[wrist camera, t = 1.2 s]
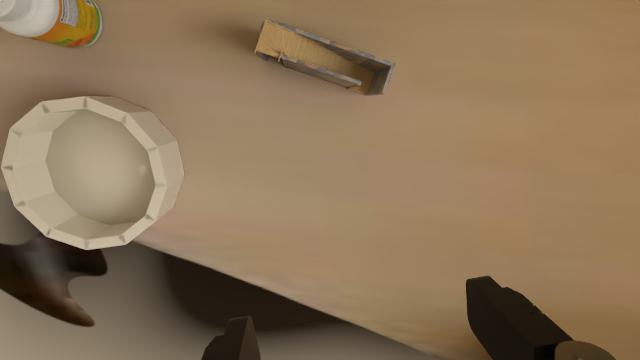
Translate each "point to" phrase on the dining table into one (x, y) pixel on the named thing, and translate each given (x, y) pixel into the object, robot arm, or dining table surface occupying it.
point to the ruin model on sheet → (324, 58)
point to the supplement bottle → (53, 21)
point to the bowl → (92, 170)
